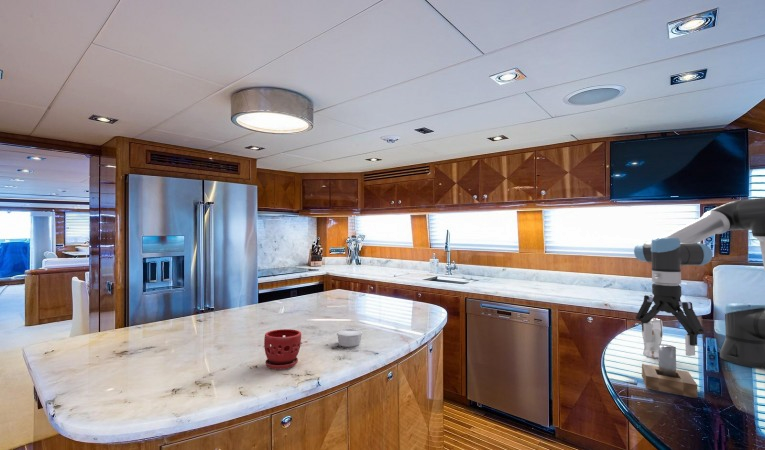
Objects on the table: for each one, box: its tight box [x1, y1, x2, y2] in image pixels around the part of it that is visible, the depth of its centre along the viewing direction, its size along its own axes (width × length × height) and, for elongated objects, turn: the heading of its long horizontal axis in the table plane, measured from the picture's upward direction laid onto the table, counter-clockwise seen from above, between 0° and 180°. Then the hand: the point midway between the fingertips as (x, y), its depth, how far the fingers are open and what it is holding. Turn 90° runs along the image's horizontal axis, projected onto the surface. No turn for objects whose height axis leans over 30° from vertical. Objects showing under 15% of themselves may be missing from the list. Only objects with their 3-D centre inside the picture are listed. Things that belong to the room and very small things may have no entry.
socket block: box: [641, 363, 698, 399], centre depth 114 cm, size 12×12×4 cm
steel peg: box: [658, 343, 677, 378], centre depth 114 cm, size 4×4×13 cm
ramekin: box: [336, 328, 363, 348], centre depth 154 cm, size 11×11×5 cm
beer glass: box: [641, 317, 664, 359], centre depth 143 cm, size 7×7×15 cm
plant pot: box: [263, 328, 302, 371], centre depth 128 cm, size 13×13×12 cm
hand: (668, 348), depth 114 cm, fingers open, 13 cm apart
